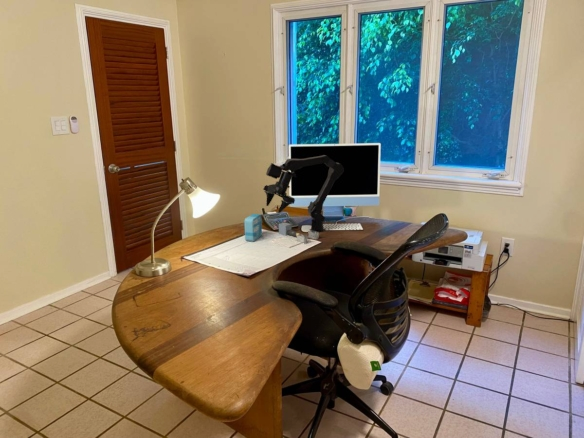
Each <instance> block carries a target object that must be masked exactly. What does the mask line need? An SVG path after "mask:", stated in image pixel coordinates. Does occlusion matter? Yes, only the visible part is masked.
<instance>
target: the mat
mask: <svg viewBox="0 0 584 438" xmlns="http://www.w3.org/2000/svg"><path fill="white" fill-rule="evenodd" d="M269 243H271V244H276V245H277V246H279V245H280V246H282V247H286V248H289V249H290V248H293V247H296V246H299V245H300V244H303V243H302V242H298V241H297V240H293V239H291V238H287V237H283V236H281V237H278V238H274V239H271V240H269ZM298 244H299V245H298Z"/></svg>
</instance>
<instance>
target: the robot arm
mask: <svg viewBox="0 0 584 438" xmlns="http://www.w3.org/2000/svg"><path fill="white" fill-rule="evenodd" d="M322 164H325V165H326V167H328V168H329V169H328V170H327V171H328V172H327V177H326V179H325V181H324V183H323V185H322V187H321V189H320V191H319V193H318V194H317V196H316V198H315V200H314V201H309V202H310V203H309V204H308V206H307V213H308V215H309V217H310V218H312V220H311V228H310V229H309V231H310V230H313V231H317V232H319V233H321V232H324V231H326V228H324V221H325V219H326V217H325V216H324V215H323V214H322V211H323V207H324V202H325V201H326V198H327V197H328V195H329V193H330V191H331V190H332V187H333V186H334V183H335V181H336V180H338V179H339V178H340V177H341V175H343V173H344V171H345V168H344V166H343V164H341V163H339V162H335V161H334V160H333V159H332V158H330V157H329V156H328V155H325V154H323V155H319V156H313V157H312V156H311V157H306V158H287V159H286V160H285V161H284V163H282V164H281V165H280V166H279V165H278V164H277V165H276V164H274V163H272V162H271V163H270V164H269V166H268V168H267V169H266V173H265V175H266V176H268V177H270V178H273V179H275V180H277V179H278V181H275V183H273V184H269V185H267V184H266V185H264V186H263V188H262V189H263V191H264V193H265V196H266V204H265V205H266V207H269V206H270V204H271V202H272V200H274V199H273V198H274V197H275V196H278V197H281V201H280V202H281V204H280V206H279V208H278V212H277V213H278V214H280V213H282V211H283V210H285V209H286V208H287V207H288V206H289V205H292V204H295V201H296V200H295V198H294V197H292V196H291V195H287V190H288V189H290V188H291V187H290V183H291V180H292V178H293V177H294V178H297V175H296V172H295V171H297V170H298V171H299V170H300V169H302V168H304V167H311V166H315V165H316V166H317V165H322Z"/></svg>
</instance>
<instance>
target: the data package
mask: <svg viewBox="0 0 584 438" xmlns="http://www.w3.org/2000/svg"><path fill="white" fill-rule="evenodd" d="M262 226H263V225H262V215H261V214H260V213H258V214H257V213H252V214H250V215H249V216H247V217H245V218H244V239H245V242H256V241H257V240H258V239H259V238H261V236H262V234H263V232H262V228H263V227H262Z"/></svg>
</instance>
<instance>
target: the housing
mask: <svg viewBox="0 0 584 438" xmlns="http://www.w3.org/2000/svg"><path fill="white" fill-rule="evenodd" d="M319 235H320V232H317V231H313V230H310V229H309V230H308V235H306V234H302V233H300V234H299V235H297V237H296V241H298V242H302V243H301V244H303V243H304V244H303V245H305V244H308V242H309V241H308V239H312V240H318V239H319V237H320V236H319Z"/></svg>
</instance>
